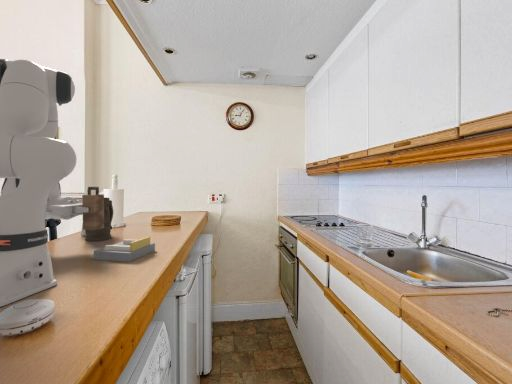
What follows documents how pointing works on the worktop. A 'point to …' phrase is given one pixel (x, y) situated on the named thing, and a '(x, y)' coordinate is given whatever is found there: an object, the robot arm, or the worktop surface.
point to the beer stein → (104, 232)
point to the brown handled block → (93, 210)
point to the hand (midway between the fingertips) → (95, 209)
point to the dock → (125, 250)
